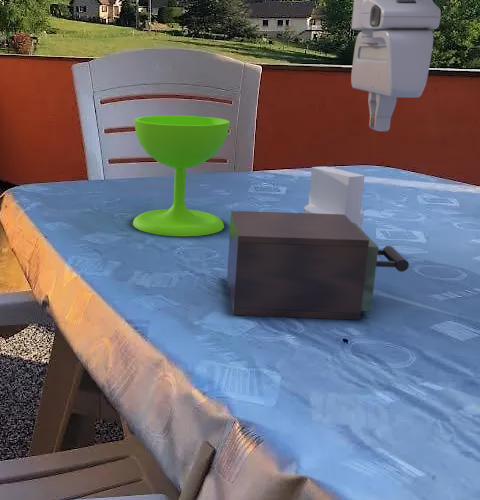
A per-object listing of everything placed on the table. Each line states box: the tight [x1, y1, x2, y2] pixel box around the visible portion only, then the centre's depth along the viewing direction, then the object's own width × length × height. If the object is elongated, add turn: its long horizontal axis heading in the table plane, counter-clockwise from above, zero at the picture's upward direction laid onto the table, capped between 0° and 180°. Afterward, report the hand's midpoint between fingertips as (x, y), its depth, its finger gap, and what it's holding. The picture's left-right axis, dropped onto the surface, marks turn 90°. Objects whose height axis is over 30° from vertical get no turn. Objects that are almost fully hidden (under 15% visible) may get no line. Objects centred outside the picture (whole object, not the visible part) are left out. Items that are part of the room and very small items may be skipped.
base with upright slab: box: [303, 166, 365, 231], centre depth 110 cm, size 9×9×12 cm
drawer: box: [353, 223, 410, 312], centre depth 87 cm, size 18×11×8 cm, turn 86°
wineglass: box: [132, 115, 231, 237], centre depth 121 cm, size 16×16×18 cm
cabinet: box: [226, 210, 369, 321], centre depth 87 cm, size 15×13×10 cm
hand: (378, 130), depth 89 cm, fingers closed
